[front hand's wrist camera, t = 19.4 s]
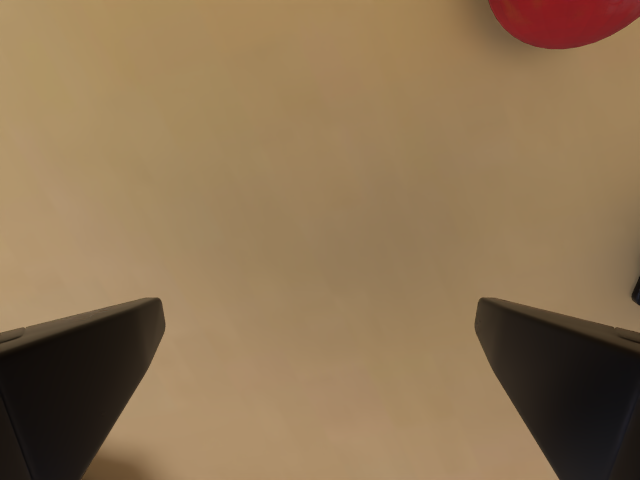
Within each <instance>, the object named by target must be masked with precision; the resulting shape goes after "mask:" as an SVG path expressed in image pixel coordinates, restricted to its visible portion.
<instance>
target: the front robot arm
mask: <svg viewBox="0 0 640 480" xmlns="http://www.w3.org/2000/svg"><path fill="white" fill-rule="evenodd" d="M632 300H633V301H634V302H635V303H637V304H638V305H640V277H639V280H638V282H637V284H636V286H635V289H634V291H633V293H632ZM164 331H165V318H164V312H163V306H162V302H161V300H160V299H159V298H142V299H138V300H134V301H130V302H126V303H122V304H118V305H114V306H110V307H106V308H102V309H98V310H94V311H90V312H86V313H82V314H77V315H73V316H69V317H65V318H61V319H57V320H53V321H49V322H45V323H41V324H37V325H33V326H29V327H26V329H25V328H24V327H23V328H18V329H14V330H10V331H6V332H2V333H0V480H81V478H82V476H83V475H84V473H85V471H86V470H87V468H88V467H89V465H90V463H91V462H92V460H93V458H94V457H95V455H96V453H97V452H98V450H99V449H100V447H101V445H102V444H103V442H104V440H105V439H106V437H107V435H108V434H109V432H110V431H111V429H112V427H113V426H114V424H115V422H116V421H117V419H118V417H119V416H120V414H121V413H122V411H123V409H124V408H125V406H126V404H127V403H128V401H129V399H130V398H131V396H132V395H133V393H134V391H135V390H136V388H137V386H138V385H139V383H140V381H141V380H142V378H143V377H144V375H145V373H146V371H147V370H148V368H149V366H150V364H151V361H152V359H153V357H154V355H155V352H156V350H157V348H158V346H159V343H160V341H161V339H162V336H163V334H164ZM475 331H476V334H477V336H478V339H479V341H480V343H481V346H482V348H483V350H484V352H485V355H486V357H487V359H488V361H489V364H490V366H491V368H492V370H493V371H494V373H495V375H496V377H497V378H498V380H499V381H500V383H501V385H502V386H503V388H504V390H505V391H506V393H507V395H508V396H509V398H510V399H511V401H512V403H513V404H514V406H515V408H516V409H517V411H518V413H519V414H520V416H521V417H522V419H523V421H524V422H525V424H526V426H527V427H528V429H529V431H530V432H531V434H532V435H533V437H534V439H535V440H536V442H537V444H538V445H539V447H540V449H541V450H542V452H543V453H544V455H545V457H546V458H547V460H548V462H549V463H550V465H551V467H552V468H553V470H554V471H555V473H556V475H557V476H558V478H559V480H640V333H638V332H634V331H630V330H626V329H622V328H617V327H616V328H615V329H614V327H611V326H607V325H603V324H599V323H595V322H591V321H587V320H583V319H579V318H575V317H571V316H567V315H563V314H558V313H554V312H550V311H546V310H542V309H538V308H534V307H530V306H526V305H522V304H518V303H514V302H510V301H506V300H502V299H498V298H481V299H480V300H479V302H478V306H477V312H476V318H475Z"/></svg>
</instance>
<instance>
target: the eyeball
mask: <svg viewBox="0 0 640 480" xmlns="http://www.w3.org/2000/svg"><path fill="white" fill-rule="evenodd" d="M488 1H489V4H490V7H491V9H492V11H493V13H494V15H495V17H496V19H497V20H498V21H499V22H500V24H501V25H502V26H503V28H504V29H506V30H507V31H508V32H509V33H510V34H511V35H512V36H514V37H516V38H517V39H519V40H521V41H522V42H524V43H527V44H530V45H533V46H536V47H541V48H547V49H567V48H575V47H580V46H584V45H587V44H591V43H594V42H597V41H599V40H601V39H604V38H606V37H608V36H611V35H612V34H614V33H616V32H618V31H619V30H621V29H623V28H625V27H626V26H628V25H629V24H630V23H632V22H633V21H634V20H636V19H637V18H638V17H640V0H488Z"/></svg>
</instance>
